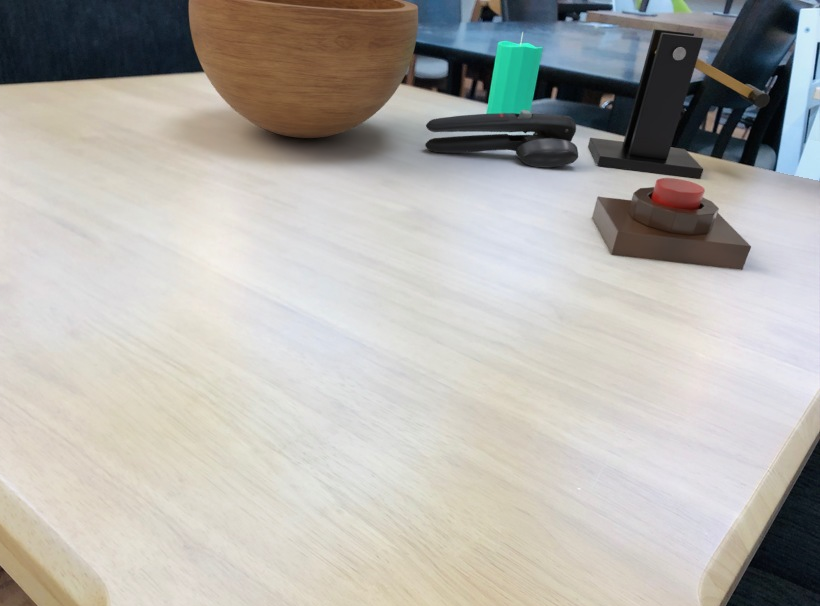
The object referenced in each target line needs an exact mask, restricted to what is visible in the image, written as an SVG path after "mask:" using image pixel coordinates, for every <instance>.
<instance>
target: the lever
mask: <svg viewBox="0 0 820 606" xmlns="http://www.w3.org/2000/svg"><path fill="white" fill-rule="evenodd" d="M655 54H656V51H655ZM694 69H695V70H697V71H699V72H701V73H703V74H704V75H706V76H708V77H709V78H711V79H714V80H715V81H717V82H719V83H720V84H722V85H723V86H725V87H728V88H729V89H731V90H733V91H735V92H736V93H738V95H739V97H741V98H742V99H743V100H745V101H747V102H749V104H751V105H754V106H755V107H756V108H758V109H759V108H765V107H766V106H768V104H769V103H770V101H771V100H770V95H769V94H767V93H766V92H764V91H762V90H760V89H759V88H757V87H756V86H753V85H752V84H751V83H750V84H749V83H745V84H744V83H743V82H740V81H739V80H737V79H735V78H734V77H732V76H731V75H728V74H727V73H725V72H723V71H721V70H719V68H716V67H714V66H713V65H711V64H709V63H707V62H705V61H704V60H702V59H700V58H699V57H698V58H697V62H696V65H695V68H694Z"/></svg>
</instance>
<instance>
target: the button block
mask: <svg viewBox="0 0 820 606" xmlns="http://www.w3.org/2000/svg"><path fill="white" fill-rule="evenodd" d="M654 187H655V186H651V187H649V186H648V187H640V188H638V189H637V190H635V191H634V192H633V193H632V197H631V199H624V198H614V197H604V196H596V197H597V198H596V200H595V205H594V209H593V212H592V217H591V219H592V221H593V223H594V225H595V227H596V229H597V230H598V232H599V234H600V236H601V238H602V240H603V241H604V243H605V245H606V248H607V249H608V251H609V253H610V255H611V256H617V257H626V258H627V257H628V258H633V259H634V258H635V259H644V260H652V261H660V262H669V263H678V264H687V265H696V266H703V267H704V266H705V267H713V268H721V269H729V270H740V271H742V270H743V269H744V266H745V264H746V262H747V259H748V256H749V254H750V252H751V248H752V246H751V245H750V244H749V242H748V241H747V240H745V239H744V238H743V236H741V234H739V232H738V231H737V230H735V229H734V227H733V226H732V225H730V223H729V222H728V221H727V220H726V219H725V218H724V217H723V216H722V215H721V213H719V211H720V208H719V207H718V206H717V205H716V204H715V203H714V202H713V201H712V200H710V199H707V198H705V197H703V198H702V201H701V204H700V207H699V209H697V210H686V209H678V208H673V207H669V206H665V205H661V204H659V203H657V202H655V201H653V200H651V197H652V194H653V190H654Z"/></svg>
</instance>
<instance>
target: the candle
mask: <svg viewBox="0 0 820 606" xmlns="http://www.w3.org/2000/svg"><path fill="white" fill-rule="evenodd" d="M520 37H521V38H520V42H519V43H515V42H513V41H509V40H502V41H499V42H497V47H496V53H495V59H494V64H493V71H492V77H491V83H490V89H489V95H488V101H487V102H488V103H487V106H486V113H485V114H492V113H517V114H520V113H521V111H522V110H528V111H530V112H532V111H531V110H532V106H533V102H534V96H535V92H536V91H535V90H536V87H537V80H538V75H539V70H540V65H541V60H542V56H543V55H542V54H543V50H544V46H538V47H537V46H536V45H533V44H531V43H529V42H523V37H524V31H522V32H521V36H520ZM522 42H523V43H522Z"/></svg>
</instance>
